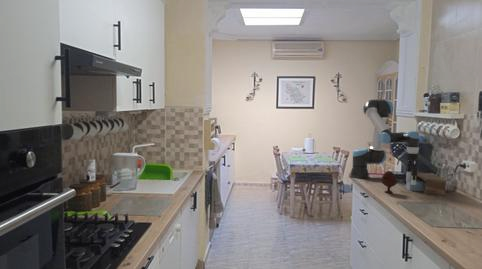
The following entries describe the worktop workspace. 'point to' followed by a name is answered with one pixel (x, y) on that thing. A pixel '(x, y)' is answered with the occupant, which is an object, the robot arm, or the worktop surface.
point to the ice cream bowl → (389, 181)
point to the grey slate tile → (415, 186)
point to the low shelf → (432, 183)
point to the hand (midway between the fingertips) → (410, 182)
